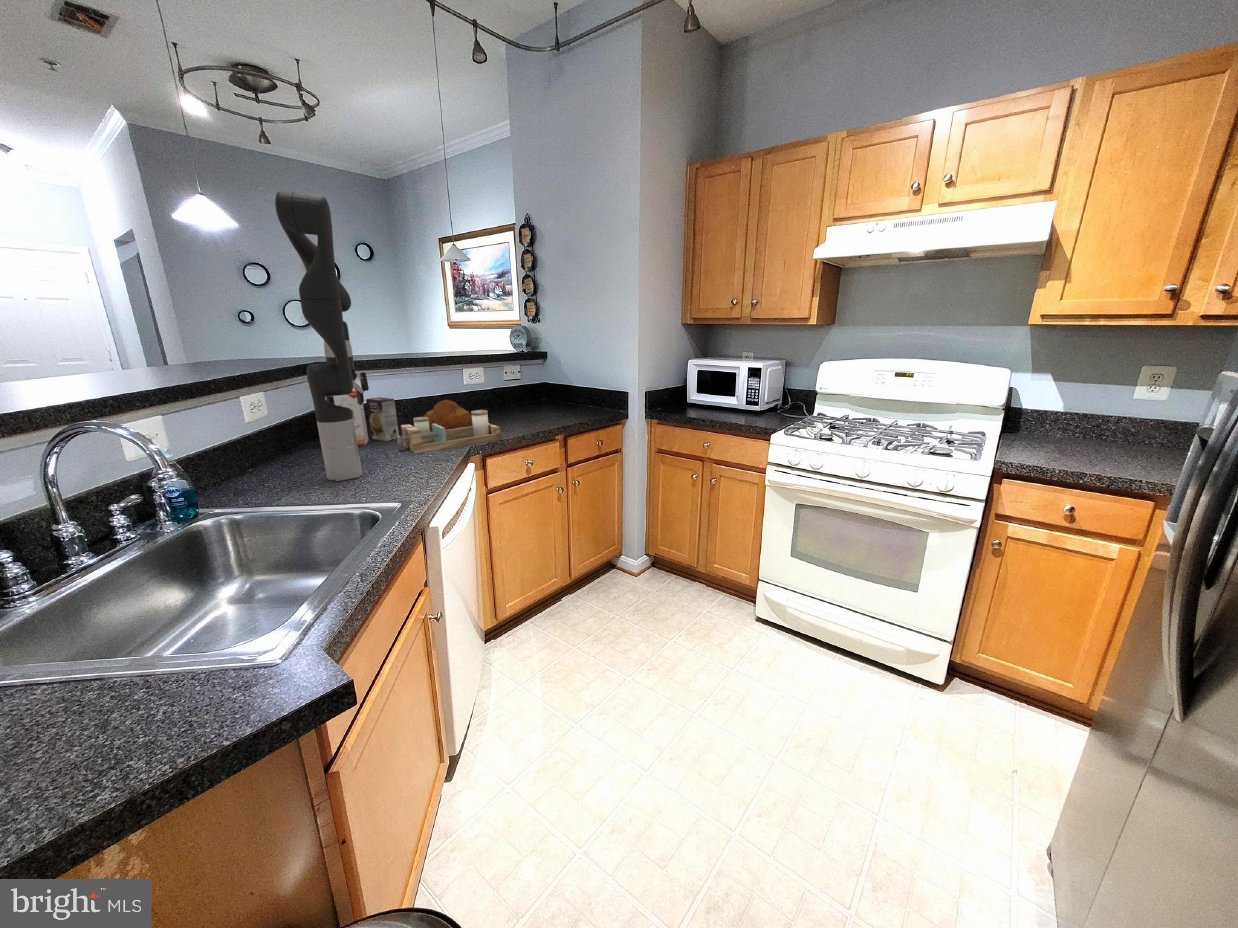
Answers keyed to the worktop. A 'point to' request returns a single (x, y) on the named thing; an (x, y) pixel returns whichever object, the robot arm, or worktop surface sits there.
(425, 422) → the jar sage
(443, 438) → the pusher
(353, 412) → the cracker box
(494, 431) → the wooden tray
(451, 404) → the bread
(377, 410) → the coffee box
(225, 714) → the worktop surface
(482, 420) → the jar cream
